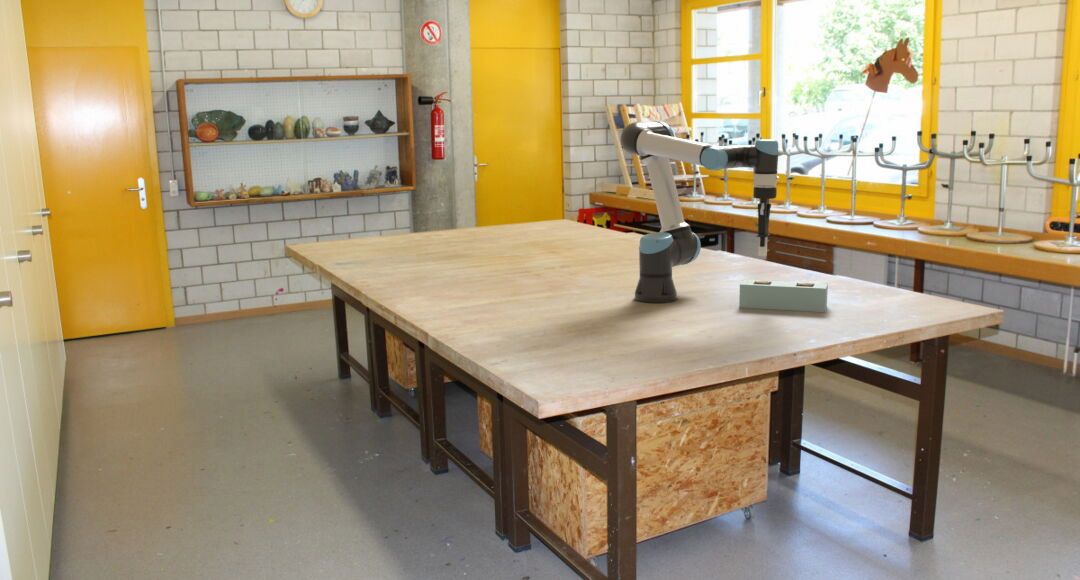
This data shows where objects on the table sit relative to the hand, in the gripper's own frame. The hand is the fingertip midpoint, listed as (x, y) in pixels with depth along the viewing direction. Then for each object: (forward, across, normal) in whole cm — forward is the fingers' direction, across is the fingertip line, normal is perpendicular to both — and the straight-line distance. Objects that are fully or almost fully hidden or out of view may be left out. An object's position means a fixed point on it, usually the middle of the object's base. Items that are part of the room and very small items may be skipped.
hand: (762, 255), depth 304 cm
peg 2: (+17, 0, -15) cm, 22 cm away
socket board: (+17, 0, -8) cm, 19 cm away
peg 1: (+17, 0, -1) cm, 17 cm away
